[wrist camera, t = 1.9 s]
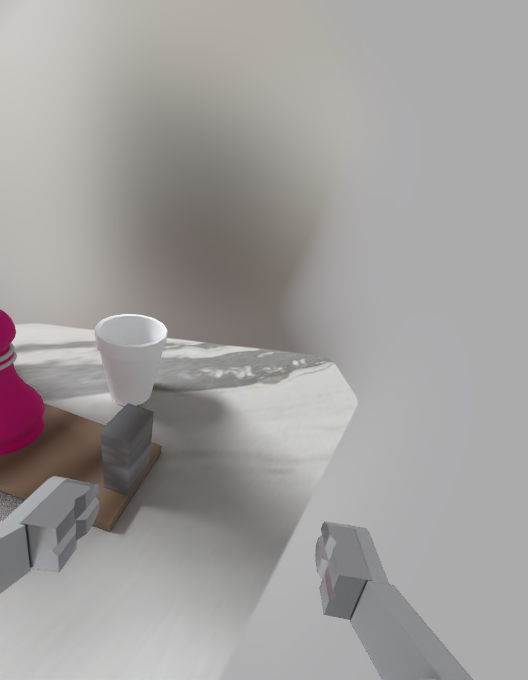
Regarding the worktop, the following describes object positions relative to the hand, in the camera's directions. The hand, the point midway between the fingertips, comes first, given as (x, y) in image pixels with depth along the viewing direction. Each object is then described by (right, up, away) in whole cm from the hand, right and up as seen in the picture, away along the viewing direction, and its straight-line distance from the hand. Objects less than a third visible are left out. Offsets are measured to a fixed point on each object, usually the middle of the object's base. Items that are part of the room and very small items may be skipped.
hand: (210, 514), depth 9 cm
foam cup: (-21, -3, +34) cm, 40 cm away
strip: (-27, -8, +22) cm, 36 cm away
